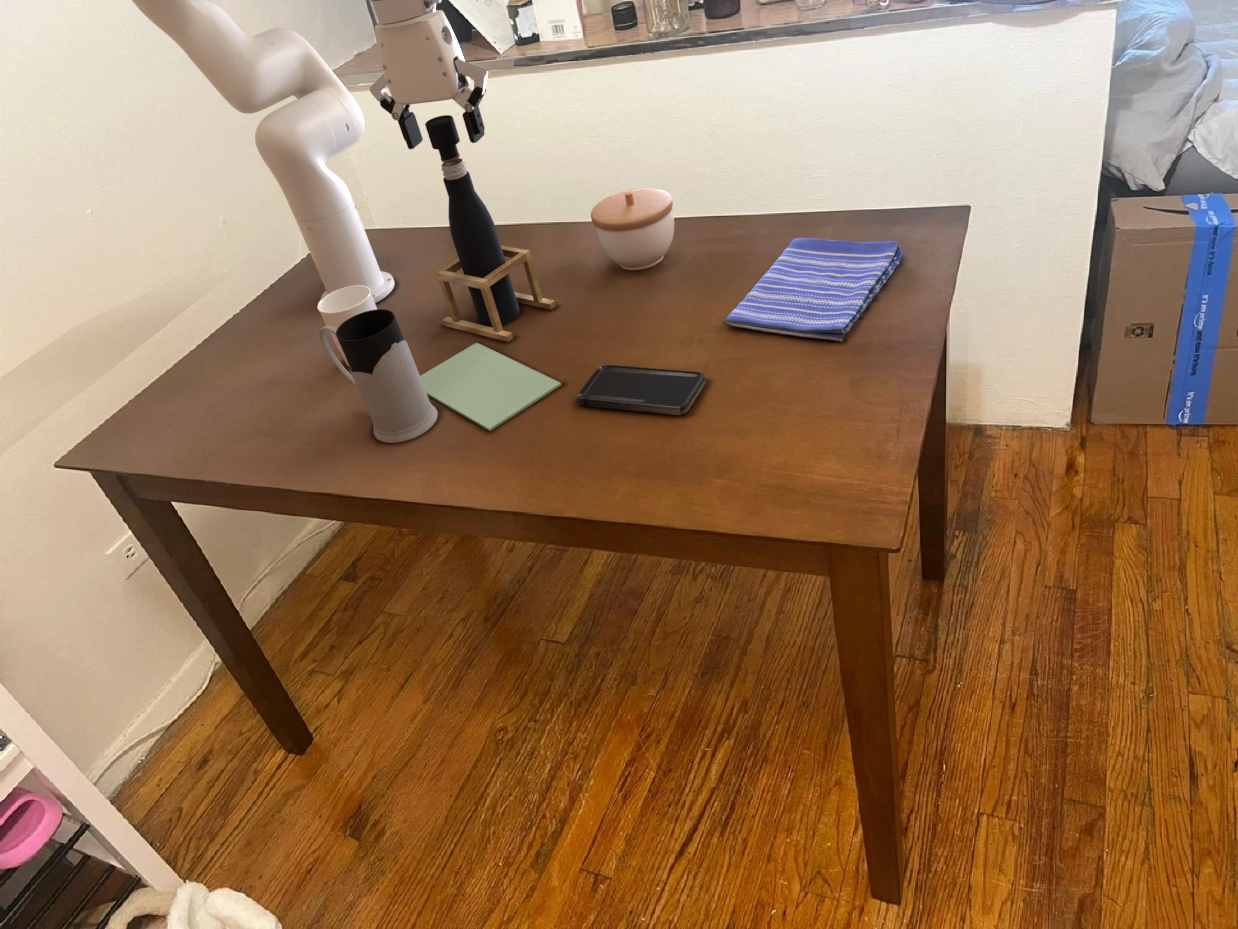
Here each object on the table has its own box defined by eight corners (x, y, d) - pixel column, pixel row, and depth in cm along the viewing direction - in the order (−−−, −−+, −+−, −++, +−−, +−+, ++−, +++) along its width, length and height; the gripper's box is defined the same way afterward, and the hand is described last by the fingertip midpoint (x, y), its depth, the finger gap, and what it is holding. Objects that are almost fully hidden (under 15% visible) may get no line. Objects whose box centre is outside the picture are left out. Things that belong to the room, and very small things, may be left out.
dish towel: (906, 256, 134) (906, 237, 132) (845, 344, 119) (844, 325, 118) (793, 247, 143) (791, 230, 141) (723, 329, 128) (720, 310, 127)
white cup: (404, 344, 143) (381, 285, 137) (373, 373, 138) (348, 313, 132) (363, 341, 147) (339, 284, 141) (332, 369, 141) (306, 311, 135)
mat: (409, 384, 133) (408, 382, 133) (477, 344, 139) (476, 342, 138) (489, 431, 120) (489, 428, 120) (561, 385, 125) (560, 382, 125)
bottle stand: (444, 325, 146) (424, 271, 140) (491, 292, 151) (475, 239, 146) (508, 342, 137) (490, 285, 132) (556, 306, 143) (541, 250, 138)
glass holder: (408, 448, 121) (365, 347, 112) (332, 429, 128) (287, 333, 119) (450, 409, 126) (414, 310, 117) (375, 393, 133) (335, 299, 124)
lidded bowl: (682, 270, 144) (671, 201, 138) (601, 284, 146) (586, 217, 139) (679, 235, 154) (668, 169, 148) (603, 248, 156) (589, 184, 149)
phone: (600, 364, 125) (706, 372, 118) (602, 371, 126) (708, 379, 119) (574, 398, 120) (683, 409, 113) (576, 405, 120) (685, 416, 114)
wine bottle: (513, 325, 141) (453, 125, 123) (473, 328, 143) (408, 131, 125) (524, 303, 146) (468, 108, 128) (486, 306, 148) (425, 114, 130)
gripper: (477, -12, 117) (514, 125, 128) (361, 8, 124) (405, 137, 134) (451, 6, 112) (492, 147, 122) (330, 25, 118) (379, 158, 129)
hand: (446, 142), depth 128 cm, fingers open, 9 cm apart
